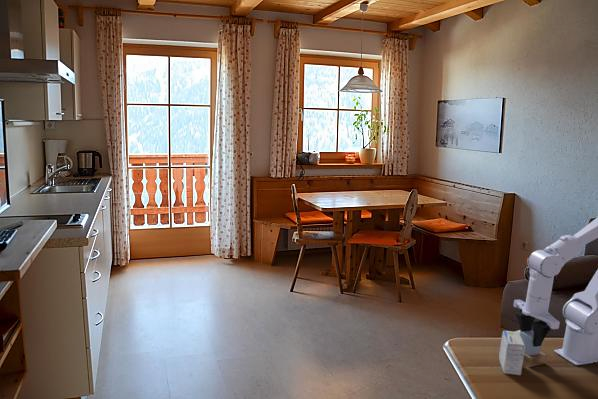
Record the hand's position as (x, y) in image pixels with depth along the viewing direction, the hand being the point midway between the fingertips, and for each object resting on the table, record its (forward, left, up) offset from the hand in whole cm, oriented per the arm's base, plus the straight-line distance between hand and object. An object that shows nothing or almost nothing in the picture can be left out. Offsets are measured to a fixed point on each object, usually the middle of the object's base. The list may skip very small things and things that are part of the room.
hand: (530, 341), depth 144 cm
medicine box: (+8, +2, -6) cm, 10 cm away
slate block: (0, 0, -3) cm, 3 cm away
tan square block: (0, 0, -6) cm, 6 cm away
